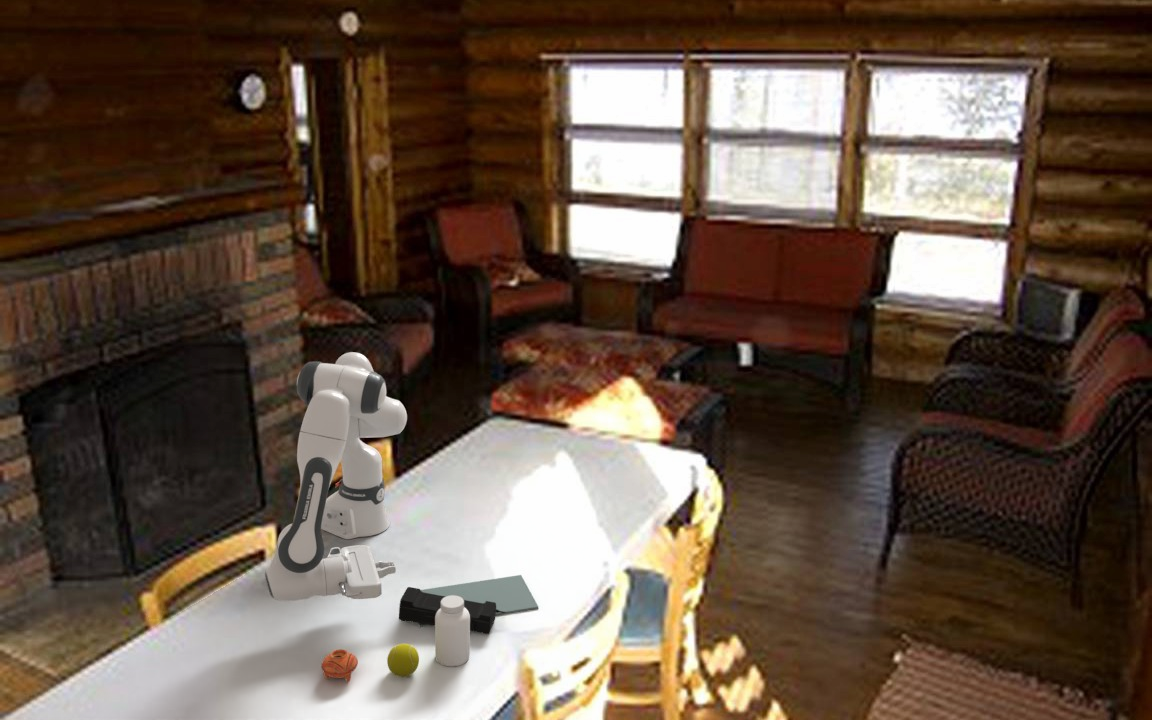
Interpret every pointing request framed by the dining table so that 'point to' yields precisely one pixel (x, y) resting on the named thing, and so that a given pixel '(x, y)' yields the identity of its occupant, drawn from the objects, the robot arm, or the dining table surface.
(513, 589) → the mat
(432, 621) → the portable radio
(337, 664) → the pot
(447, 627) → the pill bottle
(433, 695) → the dining table surface
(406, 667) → the tennis ball
